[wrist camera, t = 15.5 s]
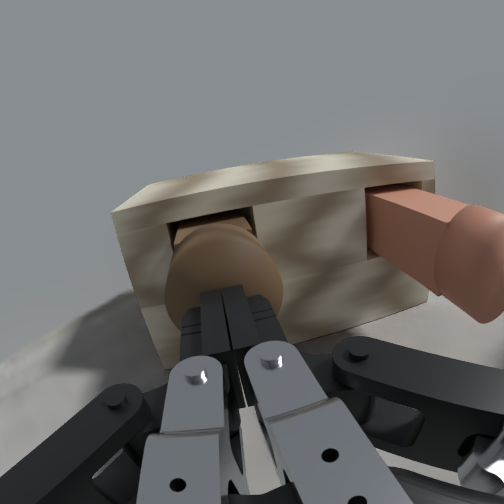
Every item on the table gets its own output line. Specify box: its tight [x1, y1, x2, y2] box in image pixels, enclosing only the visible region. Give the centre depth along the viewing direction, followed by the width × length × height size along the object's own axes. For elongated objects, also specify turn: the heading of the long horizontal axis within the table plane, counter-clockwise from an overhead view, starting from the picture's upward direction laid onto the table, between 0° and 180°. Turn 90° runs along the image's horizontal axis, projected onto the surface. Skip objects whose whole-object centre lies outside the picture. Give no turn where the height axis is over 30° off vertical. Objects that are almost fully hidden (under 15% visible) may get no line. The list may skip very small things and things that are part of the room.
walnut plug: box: [164, 208, 283, 331], centre depth 19 cm, size 5×16×5 cm, turn 9°
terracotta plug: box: [365, 183, 504, 324], centre depth 16 cm, size 5×16×5 cm, turn 9°
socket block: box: [111, 152, 435, 369], centre depth 22 cm, size 20×12×10 cm, turn 99°
